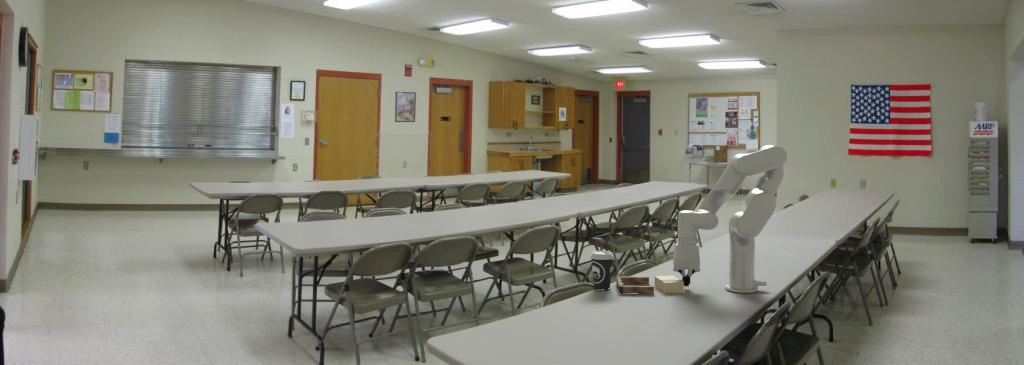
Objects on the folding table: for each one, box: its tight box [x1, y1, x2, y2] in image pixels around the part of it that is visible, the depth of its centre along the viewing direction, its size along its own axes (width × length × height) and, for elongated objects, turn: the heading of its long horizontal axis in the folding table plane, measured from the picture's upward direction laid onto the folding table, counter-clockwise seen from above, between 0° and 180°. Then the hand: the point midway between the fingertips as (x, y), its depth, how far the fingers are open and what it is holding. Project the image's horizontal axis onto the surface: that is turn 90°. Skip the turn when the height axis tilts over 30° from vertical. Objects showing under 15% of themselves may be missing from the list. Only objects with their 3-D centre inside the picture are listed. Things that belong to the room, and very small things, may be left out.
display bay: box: [615, 275, 655, 295], centre depth 269 cm, size 14×18×3 cm
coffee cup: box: [589, 250, 614, 291], centre depth 270 cm, size 10×10×15 cm
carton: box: [654, 275, 685, 294], centre depth 268 cm, size 8×12×5 cm
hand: (686, 285), depth 267 cm, fingers closed
